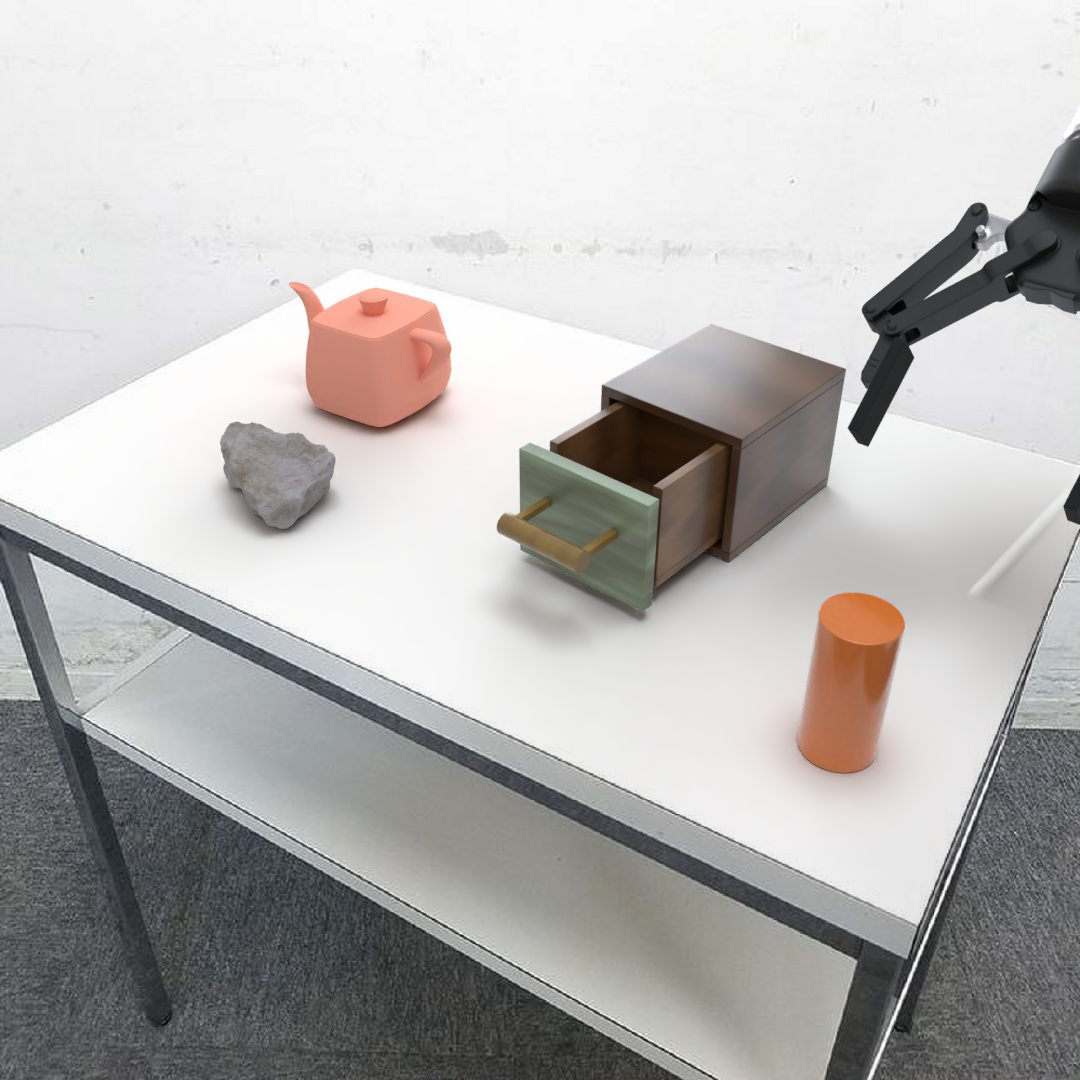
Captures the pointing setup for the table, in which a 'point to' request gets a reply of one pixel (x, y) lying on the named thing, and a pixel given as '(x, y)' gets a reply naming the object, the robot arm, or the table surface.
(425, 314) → the teapot
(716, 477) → the drawer
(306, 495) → the stone
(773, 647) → the table surface
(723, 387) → the cabinet
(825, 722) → the canister
